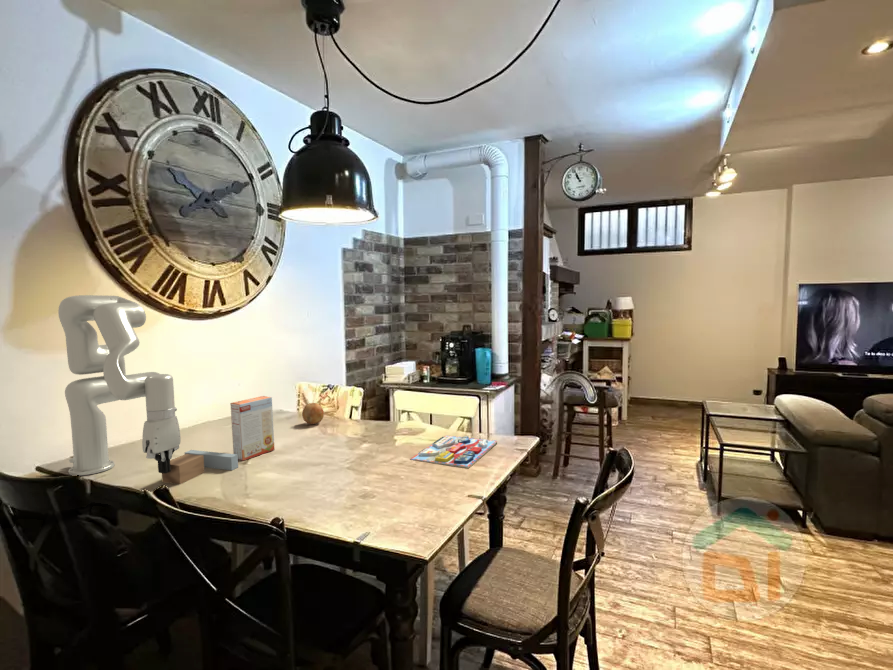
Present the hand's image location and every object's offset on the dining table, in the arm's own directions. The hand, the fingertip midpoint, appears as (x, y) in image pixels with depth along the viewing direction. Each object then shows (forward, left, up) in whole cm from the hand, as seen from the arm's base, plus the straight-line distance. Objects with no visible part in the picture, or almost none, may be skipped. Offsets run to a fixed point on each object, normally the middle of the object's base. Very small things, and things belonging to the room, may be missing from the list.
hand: (164, 472), depth 146 cm
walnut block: (0, +7, -4) cm, 8 cm away
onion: (+4, +76, -4) cm, 76 cm away
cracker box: (+7, +32, -4) cm, 33 cm away
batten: (+1, +18, -4) cm, 18 cm away
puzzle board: (+79, +55, -5) cm, 96 cm away
